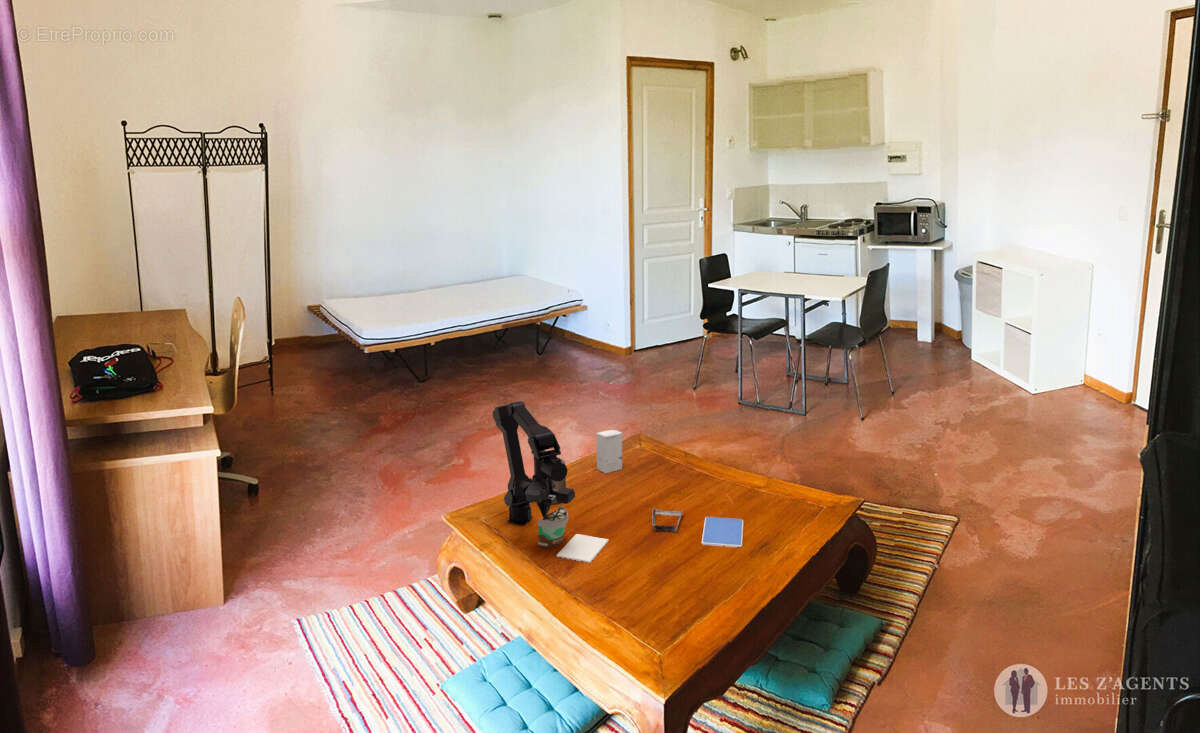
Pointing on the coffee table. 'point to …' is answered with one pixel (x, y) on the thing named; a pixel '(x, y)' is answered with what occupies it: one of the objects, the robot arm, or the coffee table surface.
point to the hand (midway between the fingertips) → (544, 517)
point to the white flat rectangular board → (583, 548)
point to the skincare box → (609, 451)
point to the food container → (552, 528)
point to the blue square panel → (722, 532)
